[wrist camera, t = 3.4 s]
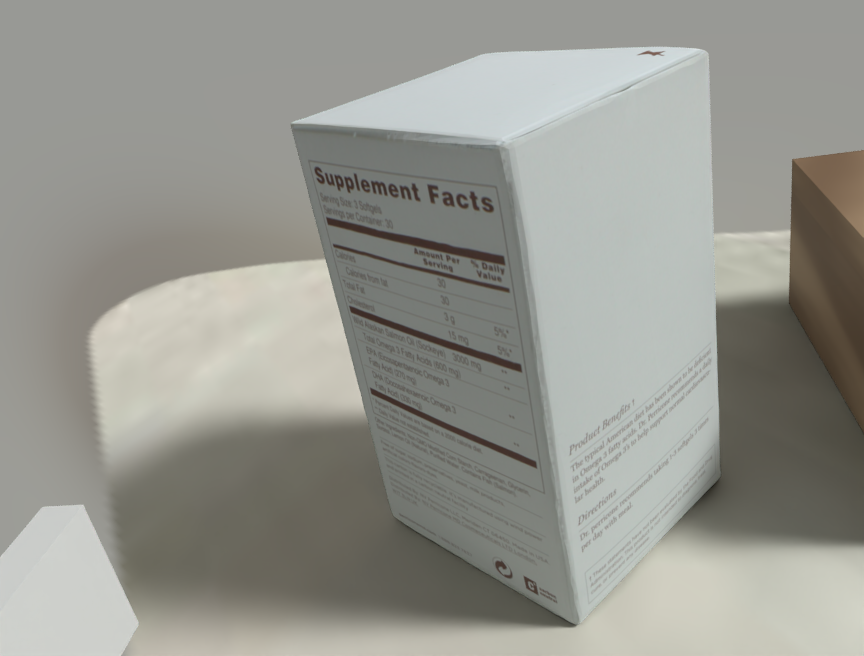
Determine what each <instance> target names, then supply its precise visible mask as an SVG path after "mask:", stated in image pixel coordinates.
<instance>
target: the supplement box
mask: <svg viewBox="0 0 864 656" xmlns="http://www.w3.org/2000/svg"><path fill="white" fill-rule="evenodd" d="M291 129H292V132H293V136H294V140H295V144H296V148H297V151H298V155H299V159H300V162H301V166H302V170H303V174H304V177H305V181H306V185H307V189H308V194H309V198H310V202H311V205H312V209H313V213H314V217H315V220H316V224H317V228H318V232H319V235H320V239H321V243H322V247H323V251H324V255H325V259H326V263H327V266H328V270H329V274H330V278H331V281H332V285H333V289H334V293H335V297H336V301H337V304H338V308H339V311H340V315H341V319H342V323H343V327H344V331H345V335H346V339H347V342H348V346H349V350H350V354H351V358H352V362H353V366H354V370H355V373H356V377H357V381H358V385H359V389H360V392H361V396H362V401H363V405H364V409H365V412H366V416H367V420H368V424H369V428H370V432H371V435H372V439H373V443H374V447H375V451H376V455H377V459H378V463H379V467H380V470H381V474H382V478H383V482H384V486H385V490H386V493H387V497H388V501H389V504H390V508H391V511H392V514H393V516H394V517H395V518H397V519H399V520H400V521H402V522H403V523H404V524H405V525H407V526H409V527H410V528H412V529H413V530H415V531H416V532H418V533H420V534H421V535H423V536H425V537H426V538H428V539H430V540H432V541H434V542H435V543H437V544H438V545H440V546H441V547H443V548H445V549H446V550H448V551H450V552H452V553H453V554H455V555H456V556H458V557H460V558H462V559H463V560H465V561H466V562H468V563H470V564H471V565H473V566H475V567H476V568H478V569H480V570H481V571H483V572H485V573H486V574H488V575H490V576H492V577H493V578H495V579H497V580H498V581H500V582H502V583H503V584H505V585H506V586H508V587H510V588H512V589H513V590H515V591H517V592H518V593H520V594H522V595H524V596H525V597H527V598H529V599H530V600H532V601H534V602H535V603H537V604H539V605H541V606H543V607H544V608H546V609H548V610H549V611H551V612H553V613H554V614H556V615H558V616H560V617H562V618H563V619H565V620H567V621H568V622H570V623H573V624H576V625H577V624H579V623H581V622H582V621H583V620H584V619H585V618H586V617H587V616H588V615H589V614H590V613H591V612H592V611H593V609H594V608H595V607H596V606H597V605H598V604H599V603H600V602H601V601H602V600H603V599H604V598H605V597H606V596H607V595H608V594H609V593H610V592H611V591H612V590H613V589H614V588H615V587H616V586H617V585H618V583H619V582H620V581H621V580H622V579H623V578H624V577H625V576H626V575H627V574H628V573H629V572H630V571H631V570H632V569H633V568H634V567H635V566H636V565H637V564H638V562H639V561H640V560H641V559H642V558H643V557H644V556H645V555H646V554H647V553H648V552H649V551H650V550H651V549H652V548H653V547H654V546H655V545H656V544H657V543H658V542H659V541H660V539H661V538H662V537H663V536H664V535H665V534H666V533H667V532H668V531H669V530H670V529H671V528H672V527H673V526H674V525H675V524H676V523H677V522H678V521H679V520H680V519H681V518H682V517H683V515H684V514H685V513H686V512H687V511H688V510H689V509H690V508H691V507H692V506H693V505H694V504H695V503H696V502H697V501H698V500H699V499H700V498H701V497H702V496H703V495H704V494H705V493H706V491H707V490H708V489H709V488H710V487H711V486H712V485H713V484H714V483H715V482H716V481H717V480H718V479H719V478H720V477H721V469H720V442H719V401H718V372H717V334H716V292H715V264H714V230H713V193H712V160H711V118H710V85H709V55H708V53H707V52H706V51H704V50H701V49H693V48H677V47H639V48H638V47H637V48H609V49H608V48H607V49H584V50H560V51H559V50H557V51H530V52H529V51H526V52H499V53H489V54H482V55H479V56H477V57H474V58H472V59H469V60H466V61H463V62H461V63H458V64H455V65H453V66H450V67H447V68H445V69H442V70H439V71H437V72H434V73H431V74H428V75H425V76H423V77H420V78H417V79H414V80H411V81H409V82H406V83H403V84H400V85H397V86H395V87H392V88H389V89H386V90H383V91H380V92H378V93H375V94H372V95H369V96H367V97H364V98H361V99H358V100H355V101H352V102H349V103H347V104H344V105H341V106H338V107H335V108H332V109H329V110H327V111H324V112H321V113H318V114H315V115H312V116H310V117H307V118H303V119H300V120H297V121H294V122H292V123H291Z"/></svg>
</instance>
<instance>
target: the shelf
mask: <svg viewBox="0 0 864 656" xmlns="http://www.w3.org/2000/svg"><path fill="white" fill-rule="evenodd" d="M789 304H790V306H791V308H792V309H793V311H794V313H795V314H796V316H797V318H798V320H799V321H800V323H801V325H802V327H803V328H804V330H805V332H806V334H807V335H808V337H809V339H810V341H811V342H812V344H813V346H814V347H815V349H816V351H817V353H818V354H819V356H820V358H821V360H822V361H823V363H824V365H825V367H826V368H827V370H828V372H829V374H830V375H831V377H832V379H833V380H834V382H835V384H836V386H837V387H838V389H839V391H840V393H841V394H842V396H843V398H844V400H845V401H846V403H847V405H848V407H849V408H850V410H851V412H852V413H853V415H854V417H855V419H856V420H857V422H858V424H859V426H860V427H861V429H862V431H863V433H864V150H861V151H853V152H846V153H837V154H830V155H822V156H815V157H806V158H799V159H792V197H791V239H790V282H789Z"/></svg>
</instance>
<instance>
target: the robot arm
mask: <svg viewBox="0 0 864 656" xmlns="http://www.w3.org/2000/svg"><path fill="white" fill-rule="evenodd" d="M138 625H139V622H138V620H137V618H136V616H135V614H134V612H133V610H132V607H131V605H130V603H129V601H128V599H127V597H126V595H125V592H124V590H123V588H122V586H121V584H120V582H119V580H118V578H117V575H116V573H115V571H114V569H113V567H112V565H111V563H110V560H109V558H108V556H107V554H106V552H105V550H104V548H103V545H102V543H101V541H100V539H99V537H98V535H97V533H96V531H95V529H94V526H93V524H92V522H91V520H90V518H89V516H88V513H87V511H86V509H85V507H84V505H82V504H81V505H64V506H48V507H42V508H41V509H40V510H39V512H38V513H37V514H36V515H35V516H34V518H33V519H32V520H31V521H30V522H29V523H28V525H27V526H26V527H25V529H23V531H22V532H21V533H20V534H19V535H18V536H17V538H16V539H15V540H14V541H13V542H12V544H11V545H10V546H9V547H8V548H7V550H6V551H5V552H4V553H3V554H2V556H1V557H0V656H121V655H122V653H123V651H124V650H125V648H126V646H127V644H128V643H129V641H130V639H131V637H132V636H133V634H134V632H135V630H136V629H137V627H138Z"/></svg>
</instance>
